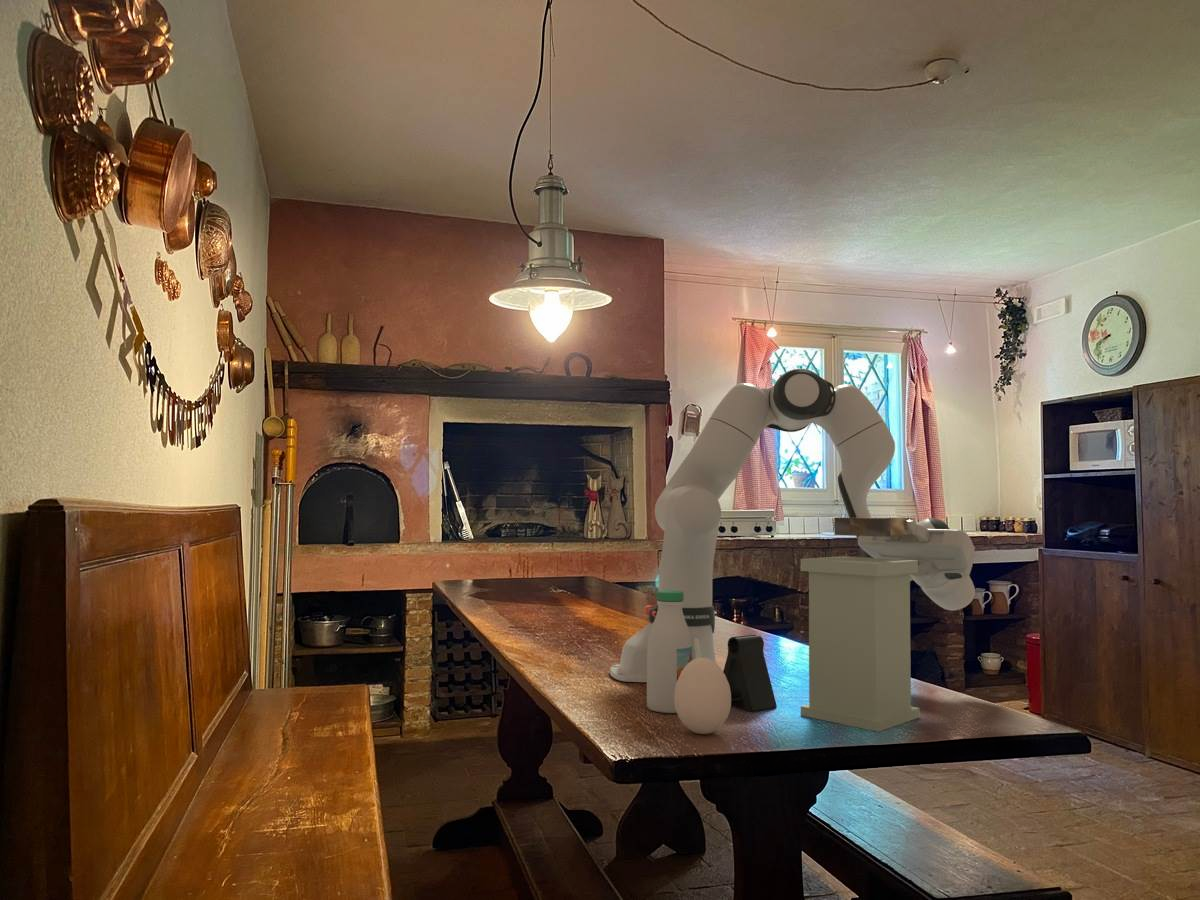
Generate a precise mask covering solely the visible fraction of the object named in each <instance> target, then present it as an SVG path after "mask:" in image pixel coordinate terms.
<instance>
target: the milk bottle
mask: <svg viewBox="0 0 1200 900" xmlns="http://www.w3.org/2000/svg"><path fill="white" fill-rule="evenodd" d="M683 599H684V594H683V592H682V591H675V590H662V591H659V590H658V591H657V592H656V605H658V611H657V615H656V618H655V620H654V622H653V625H652V627H651V629H650V632H649V637H648V649H647V682H646V706H647V709H648V710H650V711H653V712H657V713H664V714H677V712H676V708H675V702H674V695H675V687H676V683H677V681H678V678H679V676H680V674H681V672H682V670H683V669H684V668H685V667H686V665H687V664H688V663H689V662H691V661H692V640H691V634H690V631H689V628H688V626H687V623H686V621H685V618H684V615H683V611H682V605H683V604H684V603H683Z"/></svg>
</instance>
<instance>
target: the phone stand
mask: <svg viewBox="0 0 1200 900" xmlns="http://www.w3.org/2000/svg"><path fill="white" fill-rule="evenodd" d="M764 645H765V643H764V639H763V637H762V636H761V635H759V634H750V635H747V634H746V635H740V636H739V635H738V636H731V637H729V638H728V640H727V655H726V659H725V664H724V666H723V669H722V671H723V672H724V674H725V676H726V678H727V681H728V683H729V685H730V691H731V708H734V709H737V710H741V711H743V712H744V711H745V712H748V713H756V712H760V711H767V710H771V709H776V708H777V705H778V704H777V702H776V699H775V698H776V697H775V694H774V689H773V687H772V682H771V679H770V678H771V677H770V674H769V671H768V670H769V668H768V665H767V662H766V657H765V654H764Z"/></svg>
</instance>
